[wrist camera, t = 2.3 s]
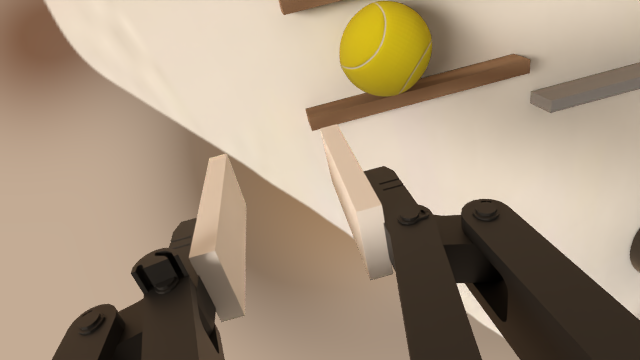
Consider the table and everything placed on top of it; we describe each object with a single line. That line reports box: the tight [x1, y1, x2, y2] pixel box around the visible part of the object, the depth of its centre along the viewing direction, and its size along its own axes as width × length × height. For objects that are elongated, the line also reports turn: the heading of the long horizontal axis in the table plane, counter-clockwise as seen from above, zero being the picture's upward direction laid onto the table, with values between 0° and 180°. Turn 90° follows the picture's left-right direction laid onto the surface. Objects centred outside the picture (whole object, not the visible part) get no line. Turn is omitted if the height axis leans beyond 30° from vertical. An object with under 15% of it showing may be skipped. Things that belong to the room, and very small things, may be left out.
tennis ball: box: [340, 1, 432, 97], centre depth 31 cm, size 7×7×7 cm
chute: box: [279, 0, 530, 131], centre depth 33 cm, size 11×20×2 cm, turn 102°
